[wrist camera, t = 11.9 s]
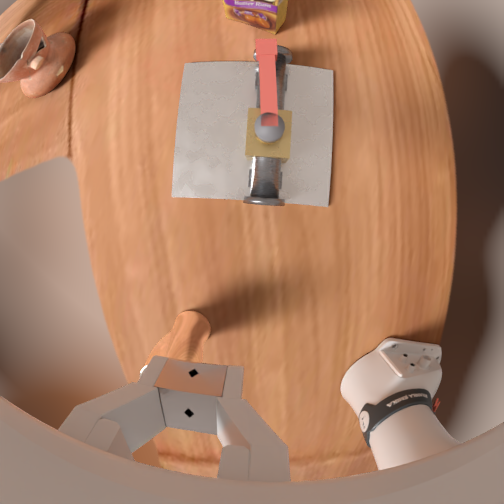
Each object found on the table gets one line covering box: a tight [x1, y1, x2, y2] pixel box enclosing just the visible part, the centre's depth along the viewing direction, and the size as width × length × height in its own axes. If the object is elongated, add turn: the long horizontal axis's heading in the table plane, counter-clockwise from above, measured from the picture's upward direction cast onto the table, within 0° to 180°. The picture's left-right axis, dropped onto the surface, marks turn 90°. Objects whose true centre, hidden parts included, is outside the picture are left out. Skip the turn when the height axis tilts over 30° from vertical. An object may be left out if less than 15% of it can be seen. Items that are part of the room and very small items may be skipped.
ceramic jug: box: [0, 19, 75, 98], centre depth 25 cm, size 18×14×14 cm
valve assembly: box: [172, 45, 333, 207], centre depth 31 cm, size 22×21×8 cm
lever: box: [254, 39, 285, 143], centre depth 26 cm, size 13×3×2 cm, turn 1°
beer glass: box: [140, 311, 211, 377], centre depth 35 cm, size 7×7×15 cm
